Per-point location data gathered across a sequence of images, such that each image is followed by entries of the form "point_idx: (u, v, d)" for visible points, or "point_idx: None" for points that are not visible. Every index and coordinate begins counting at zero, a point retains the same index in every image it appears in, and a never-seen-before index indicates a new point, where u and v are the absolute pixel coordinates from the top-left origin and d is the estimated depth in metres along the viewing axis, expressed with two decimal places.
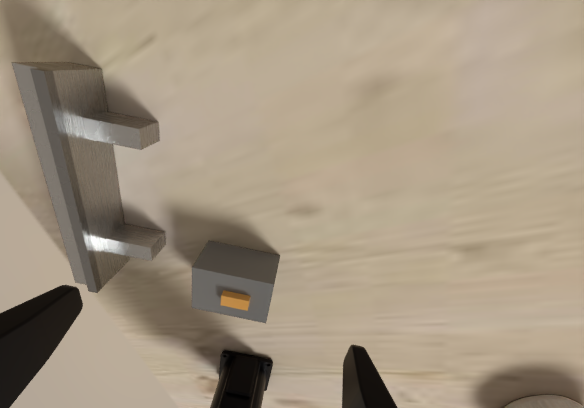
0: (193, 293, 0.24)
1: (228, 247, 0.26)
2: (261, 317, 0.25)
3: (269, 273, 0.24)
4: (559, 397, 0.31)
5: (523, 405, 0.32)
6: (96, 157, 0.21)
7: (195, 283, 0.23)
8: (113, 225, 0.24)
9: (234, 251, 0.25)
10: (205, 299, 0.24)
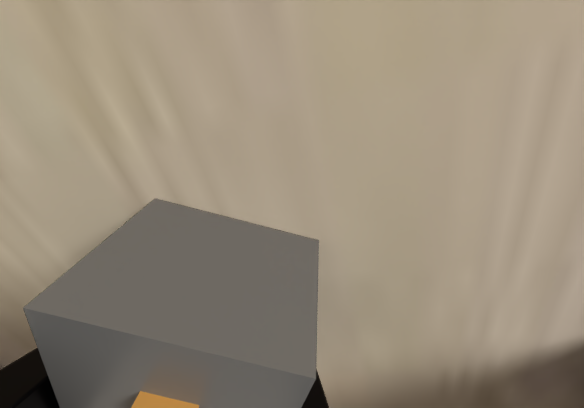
0: None
1: None
2: (272, 386, 0.05)
3: None
4: None
5: None
6: None
7: None
8: None
9: None
10: None
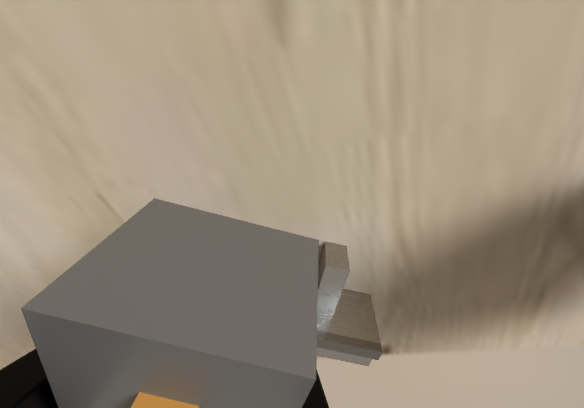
0: None
1: None
2: (272, 386, 0.05)
3: None
4: None
5: None
6: None
7: None
8: None
9: None
10: None
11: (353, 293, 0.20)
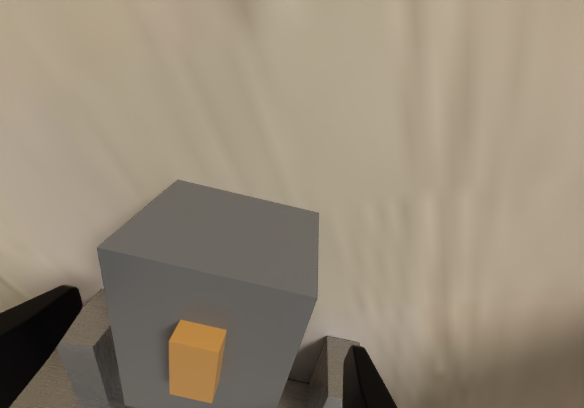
0: None
1: None
2: (284, 307, 0.06)
3: None
4: None
5: None
6: None
7: None
8: None
9: None
10: None
11: None
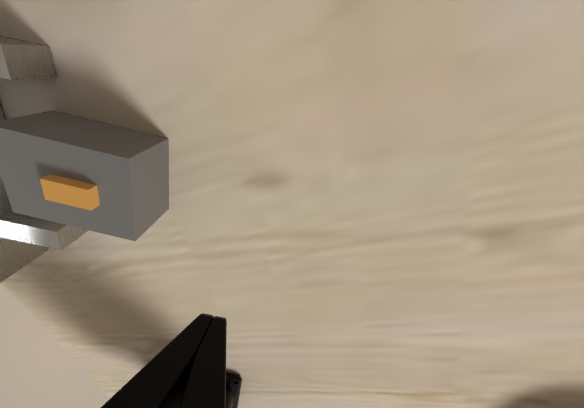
0: (5, 182, 0.14)
1: (82, 120, 0.16)
2: (125, 229, 0.15)
3: (132, 148, 0.14)
4: None
5: None
6: None
7: (1, 161, 0.14)
8: None
9: (89, 124, 0.15)
10: (28, 194, 0.14)
11: None
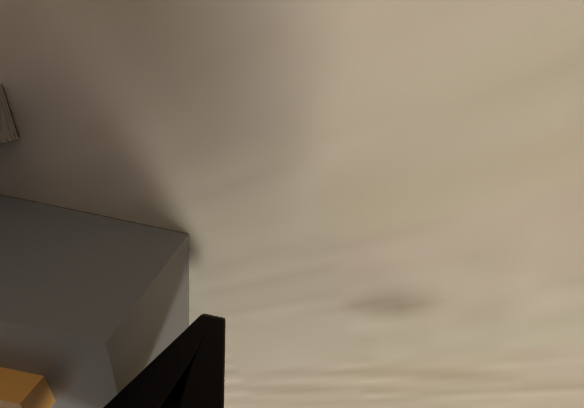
0: None
1: (28, 212, 0.09)
2: None
3: (117, 293, 0.07)
4: None
5: None
6: None
7: None
8: None
9: (38, 223, 0.08)
10: None
11: None
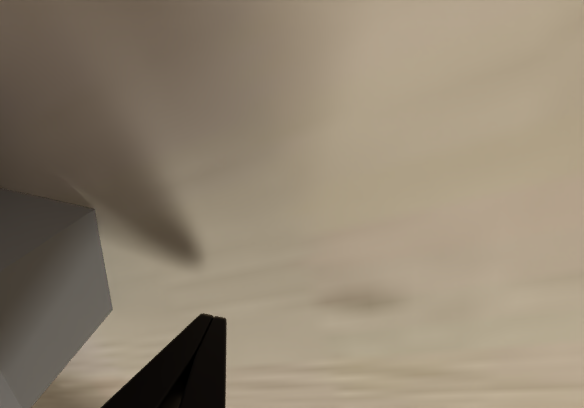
0: None
1: None
2: (1, 399, 0.08)
3: None
4: None
5: None
6: None
7: None
8: None
9: None
10: None
11: None
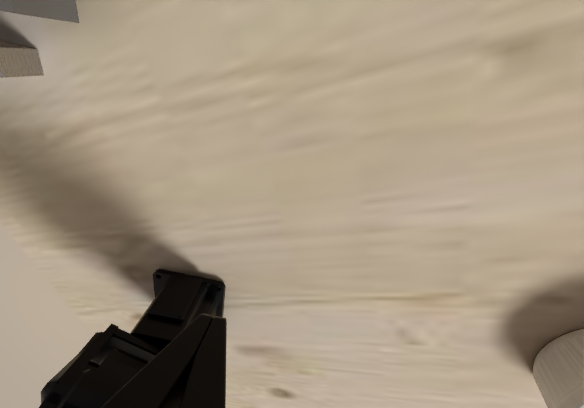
0: None
1: None
2: None
3: None
4: None
5: (573, 339, 0.22)
6: None
7: None
8: None
9: None
10: None
11: None
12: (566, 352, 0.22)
